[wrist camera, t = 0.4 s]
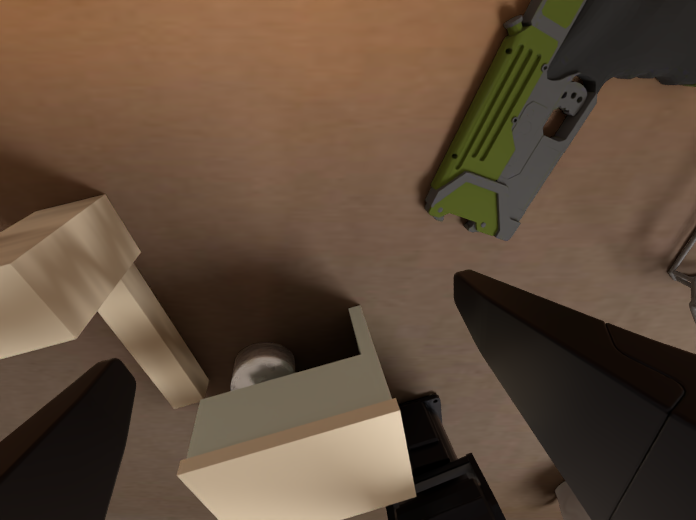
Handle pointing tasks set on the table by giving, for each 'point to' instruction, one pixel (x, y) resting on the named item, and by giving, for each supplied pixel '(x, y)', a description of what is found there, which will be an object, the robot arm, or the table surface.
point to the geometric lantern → (695, 281)
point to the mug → (570, 504)
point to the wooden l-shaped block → (88, 293)
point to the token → (261, 364)
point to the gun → (552, 98)
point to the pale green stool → (303, 444)
